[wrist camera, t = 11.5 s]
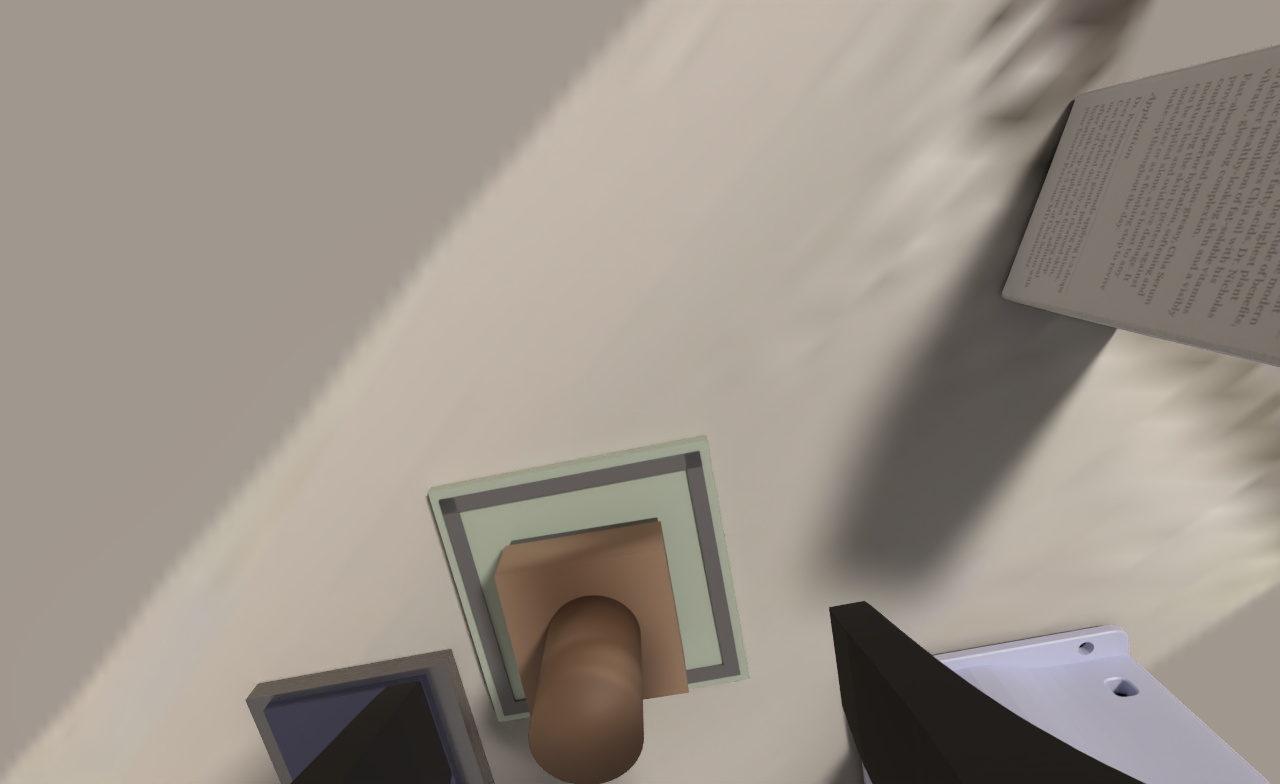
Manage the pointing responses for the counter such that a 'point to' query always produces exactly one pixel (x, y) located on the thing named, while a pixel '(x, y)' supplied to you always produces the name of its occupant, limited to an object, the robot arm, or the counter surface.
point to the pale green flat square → (587, 498)
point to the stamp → (591, 642)
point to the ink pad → (328, 701)
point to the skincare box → (1166, 209)
